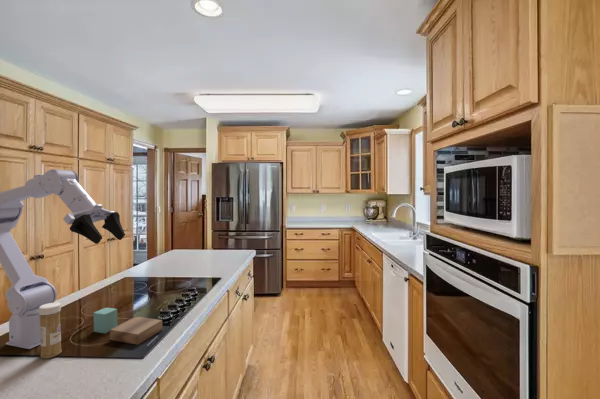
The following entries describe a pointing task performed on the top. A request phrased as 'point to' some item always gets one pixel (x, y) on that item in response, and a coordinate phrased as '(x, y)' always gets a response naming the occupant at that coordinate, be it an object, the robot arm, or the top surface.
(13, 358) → the top surface
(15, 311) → the robot arm
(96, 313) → the teal block
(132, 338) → the walnut base
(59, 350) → the sprinkles bottle
